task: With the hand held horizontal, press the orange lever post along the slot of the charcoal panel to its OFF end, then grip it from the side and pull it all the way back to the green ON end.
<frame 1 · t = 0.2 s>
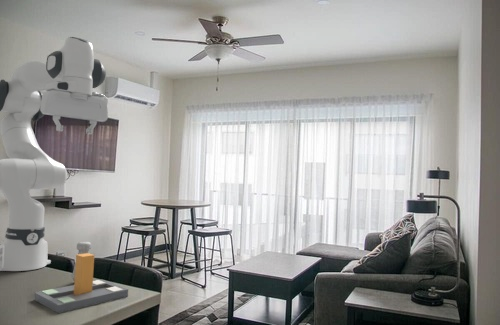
hand: (74, 132, 120), 48 cm above the table, tool pointing down, fingers open, 8 cm apart
salt shaker: (81, 283, 122), on the table
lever: (84, 274, 108), point 7 cm above the table, slide at 0.0 cm
panel: (82, 298, 107), on the table
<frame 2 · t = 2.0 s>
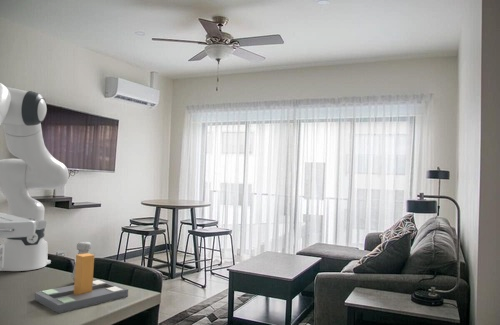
hand: (39, 222, 98), 22 cm above the table, tool horizontal, fingers open, 5 cm apart
nothing on the table moved.
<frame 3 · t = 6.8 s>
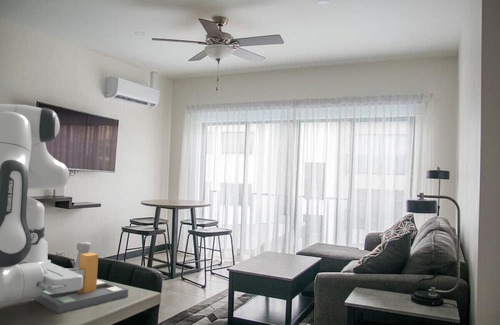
hand: (82, 271, 107), 7 cm above the table, tool horizontal, fingers closed, pressing on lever
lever: (88, 273, 109), point 7 cm above the table, slide at 1.2 cm, touching gripper
everything else where it was.
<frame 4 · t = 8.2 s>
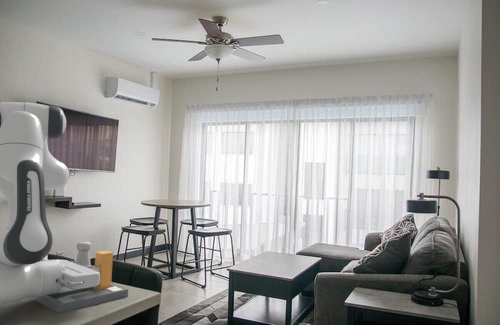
hand: (97, 269, 111), 7 cm above the table, tool horizontal, fingers closed, pressing on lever
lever: (103, 271, 112), point 7 cm above the table, slide at 5.9 cm, touching gripper
everything else where it was.
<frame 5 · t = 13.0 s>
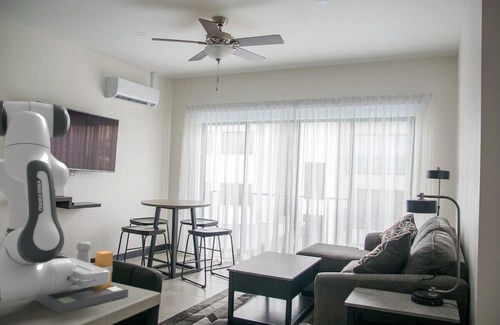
hand: (106, 267, 113), 8 cm above the table, tool horizontal, fingers closed on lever, 3 cm apart
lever: (103, 271, 112), point 7 cm above the table, slide at 5.9 cm, touching gripper
everything else where it was.
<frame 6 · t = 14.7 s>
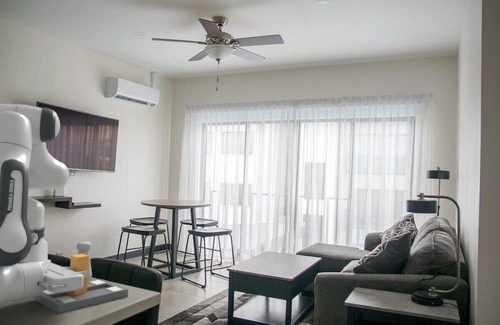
hand: (82, 271, 107), 8 cm above the table, tool horizontal, fingers closed on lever, 3 cm apart
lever: (78, 275, 106), point 7 cm above the table, slide at -1.6 cm, touching gripper
everything else where it was.
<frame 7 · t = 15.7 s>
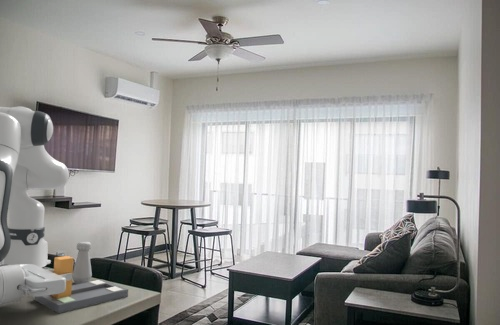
hand: (66, 274, 104), 8 cm above the table, tool horizontal, fingers closed on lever, 3 cm apart
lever: (62, 278, 103), point 7 cm above the table, slide at -6.0 cm, touching gripper
everything else where it was.
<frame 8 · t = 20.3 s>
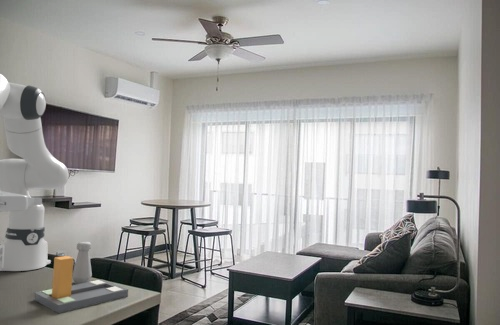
hand: (32, 199, 97), 28 cm above the table, tool horizontal, fingers open, 8 cm apart
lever: (62, 278, 103), point 7 cm above the table, slide at -6.1 cm
everything else where it was.
at the end: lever slide at -6.1 cm; the gripper is holding nothing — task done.
